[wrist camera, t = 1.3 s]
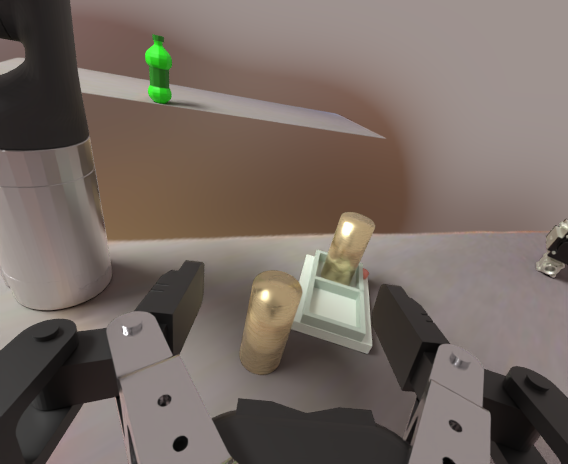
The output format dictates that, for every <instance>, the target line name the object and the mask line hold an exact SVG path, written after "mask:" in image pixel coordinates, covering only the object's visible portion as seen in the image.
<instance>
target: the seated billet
mask: <svg viewBox="0 0 568 464" xmlns="http://www.w3.org/2000/svg"><path fill="white" fill-rule="evenodd" d="M374 229H375V224H374V222H373V221H371V219H369V218H367V217H366V216H364V215H361V214H358V213H353V212H346V213H343V214H342V215H341V218H340V221H339V224H338V227H337V229H336V232H335V235H334V238H333V241H332V243H331V246H330V249H329V252H328V254H327V257H326V260H325V263H324V266H323V268H322V271H321V278H324V279H327V280H330V281H334V282H337V283H340V284H343V285H347V286H349V285H350V283H351V281H352V278H353V276H354V274H355V272H356V269H357V267H358V265H359V263H360V260H361V258H362V256H363V254H364V251H365V249H366V247H367V245H368V242H369V240H370V238H371V236H372V233H373V231H374Z"/></svg>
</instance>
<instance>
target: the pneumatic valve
mask: <svg viewBox="0 0 568 464" xmlns="http://www.w3.org/2000/svg"><path fill="white" fill-rule="evenodd" d="M559 225H560V226H557V225H555V226H554V228H553V229H552V230H551V231H550V232H549V233H548V235H547V236H546V248H547V253H544V255H543V256H544V257H542V258H541V259H540V261H539V262H536V270H537V271H542V272H543V273H545V274H548V275H550V277H552V278H555V277H556V274H557V273H558V272H559V271H560V270H561V269H563V268H565V265H564V263H565V264H567V265H568V219H565V220H564V221H563V222H561V223H560V224H559Z"/></svg>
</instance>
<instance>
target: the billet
mask: <svg viewBox="0 0 568 464" xmlns="http://www.w3.org/2000/svg"><path fill="white" fill-rule="evenodd" d="M301 297H302V287H301V285H300V283H299V282H298V281H297V280H296V279H295V278H294V277H293V276H291V275H289V274H287V273H285V272H281V271H275V270H271V271H265V272H262V273H260V274H259V275H257V276H256V277H255V279H254V281H253V285H252V291H251V296H250V301H249V306H248V311H247V316H246V322H245V327H244V332H243V337H242V342H241V348H240V360H241V363H242V365H243V366H244V367H245V368H246V369H247V370H248V371H250V372H252V373H254V374H258V375H264V374H269V373H271V372H273V371H274V370H275V369H276V368H277V367H278V365H279V363H280V360H281V357H282V354H283V351H284V348H285V345H286V342H287V339H288V336H289V333H290V330H291V327H292V324H293V321H294V318H295V315H296V312H297V309H298V306H299V303H300V300H301Z"/></svg>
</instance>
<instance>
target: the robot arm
mask: <svg viewBox="0 0 568 464" xmlns="http://www.w3.org/2000/svg"><path fill="white" fill-rule="evenodd" d="M0 38H2V39H8V40H14V41H19V42H21V43H22V44H23V45H24V47H25V54H26V55H25V61H24V62H23V63H22V64H21V65H19V66H18V67H17V68H15V69H13V70H12V71H10V72H8V73H5V74H2V75H0V273H1V275H2V277H3V279H4V282H5V284H6V285H7V286H9V287H10V288H11V290H12V293H13V295H14V297H15V299H16V300H17V302H19V303H20V304H21V305H23V306H25V307H28V308H31V309H37V310H56V309H63V308H67V307H71V306H75V305H78V304H80V303H83V302H85V301H87V300H89V299H91V298H93V297H95V296H96V295H97V294H99V293H100V292H102V291H103V290H104V289H105V288H106V287H107V285H108V284H109V282H110V281H111V278H112V268H111V262H110V256H109V250H108V243H107V237H106V231H105V225H104V219H103V213H102V207H101V201H100V195H99V190H98V183H97V177H96V171H95V166H94V160H93V154H92V148H91V142H90V136H89V130H88V125H87V120H86V115H85V110H84V105H83V100H82V94H81V88H80V82H79V76H78V69H77V61H76V52H75V43H74V35H73V25H72V16H71V7H70V0H0ZM203 290H204V263H203V262H196V261H187V260H186V261H185V262H184V264H183V265H182V266H181V268H180V269H179V271H175V270H171V271H169V272H167V273H166V274H164V275H162V276H161V277H160V279H159V280H158V281H157V282H156V285H154V286H153V288H152V289H151V291H149V293H148V294H147V295H146V296H145V298H144V299H143V300H142V302H141V303H140V304H139V305H138V307H137V308H136V309H135V311H134V312H129V313H126V314H123V315H120V316H119V317H117V318H115V319H114V320H113V321H111V322H110V324H109V325H108V327H107V328H103V329H95V330H87V331H79V332H77V328H76V325H75V323H74V322H73V321H71V320H68V319H52V320H47V321H43V322H40V323H37V324H35V325H33V326H31V327H29V328H27V329H25V330H24V331H23V332H21V333H20V334H19V335H18V336H17V337H15V338H14V339H13V340H12V341H11V342H10V343H9V344H7V345H6V346H5V347H4V348H3V349H2V350H1V351H0V464H45V463H46V462H47V460H48V459H49V457H50V456H51V454H52V452H53V451H54V449H55V448H56V446H57V445H58V443H59V441H60V440H61V438H62V437H63V435H64V434H65V432H66V430H67V429H68V427H69V426H70V424H71V423H72V421H73V419H74V418H75V416H76V415H77V413H78V412H79V410H80V408H81V407H82V405H83V404H84V403H87V402H92V401H97V400H102V399H107V398H112V397H115V401H116V406H117V411H118V415H119V420H120V425H121V429H122V434H123V439H124V443H125V448H126V454H127V460H128V464H490V455H491V457H492V459H493V461H494V462H495V464H547V463H546V461H545V460H544V459H543V457H542V456H541V454H540V453H539V452H538V450H537V449H536V448H535V446H534V443H535V442H536V441H537V439H538V438H539V437H540V435H541V436H542V437H543V439H544V440H545V441H546V443H547V444H548V445H549V446H550V448H551V449H552V450H553V452H554V453H555V454H556V455H557V457H558V458H559V460H560V462H561V464H568V398H567V397H566V396H565V395H564V394H563V393H562V392H561V391H560V390H559V389H558V388H557V387H556V386H555V385H554V384H553V383H552V382H551V381H549V380H548V379H546V378H545V377H543V376H542V375H540V374H538V373H536V372H534V371H532V370H530V369H527V368H524V367H518V366H515V367H512V368H511V369H510V370H509V372H508V374H507V375H506V376H504V375H501V374H498V373H495V372H492V371H489V370H486V369H484V368H483V366H482V364H481V363H480V361H479V360H478V359H477V358H476V357H475V356H474V355H472V354H471V353H470V352H468V351H467V350H465V349H463V348H461V347H458V346H456V345H452V344H450V343H449V342H448V340H447V339H446V338H445V336H444V335H443V334H442V332H441V331H440V330H439V328H438V327H437V326H436V324H435V323H433V321H432V319H431V318H430V317H429V316H428V314H427V313H426V311H425V310H424V309H423V307H422V306H421V305H419V304H418V303H417V302H416V301H414V300H413V299H412V298H409V297H408V295H407V294H406V293H405V291H404V290H403V288H402V287H401V286H396V285H388V284H383V285H381V287H380V290H379V293H378V296H377V299H376V302H375V306H374V309H373V312H372V324H373V327H374V329H375V332H376V334H377V336H378V338H379V341H380V343H381V345H382V347H383V349H384V352H385V354H386V356H387V358H388V361H389V363H390V365H391V367H392V369H393V372H394V374H395V376H396V378H397V381H398V383H399V385H400V387H401V389H402V391H412V392H415V393H416V395H417V396H416V399H415V401H414V403H413V407H412V410H411V413H410V416H409V419H408V422H407V425H406V428H405V431H404V434H403V438H401V437H400V436H398V435H397V434H395V433H394V432H392V431H390V430H389V429H387V428H385V427H383V426H381V425H379V424H376V423H375V421H374V418H373V415H372V411H371V410H362V409H351V408H340V407H339V408H334V409H328V410H323V411H317V412H312V413H304V412H301V411H298V410H295V409H292V408H289V407H286V406H284V405H281V404H278V403H275V402H272V401H262V400H251V399H240V398H238V404H237V410H234V411H229V412H226V413H223V414H220V415H218V416H216V417H214V418H212V419H211V417H210V415H209V413H208V411H207V409H206V407H205V404H204V402H203V400H202V398H201V396H200V394H199V392H198V390H197V388H196V386H195V384H194V382H193V380H192V378H191V376H190V374H189V372H188V370H187V368H186V366H185V364H184V362H183V360H182V358H181V356H180V355H179V354H180V352H181V350H182V347H183V345H184V343H185V341H186V338H187V336H188V334H189V332H190V329H191V327H192V325H193V323H194V320H195V318H196V316H197V313H198V311H199V309H200V307H201V303H202V299H203Z"/></svg>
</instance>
